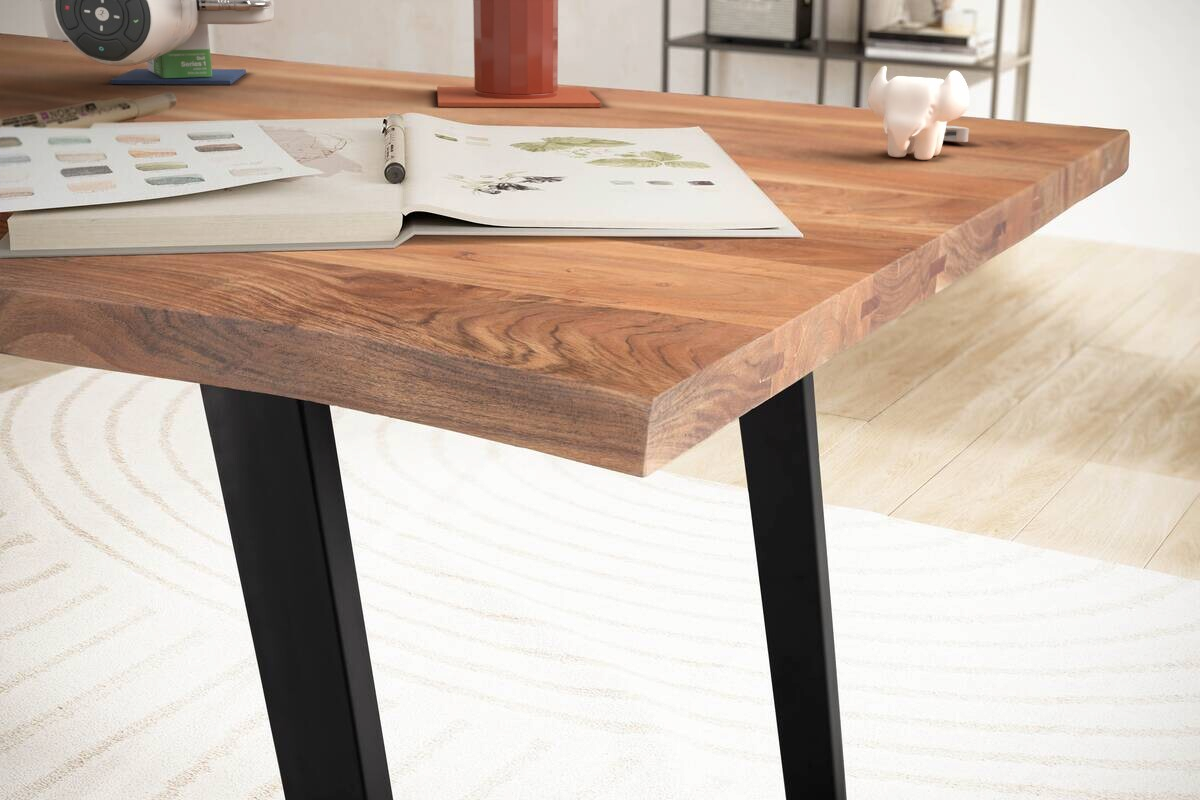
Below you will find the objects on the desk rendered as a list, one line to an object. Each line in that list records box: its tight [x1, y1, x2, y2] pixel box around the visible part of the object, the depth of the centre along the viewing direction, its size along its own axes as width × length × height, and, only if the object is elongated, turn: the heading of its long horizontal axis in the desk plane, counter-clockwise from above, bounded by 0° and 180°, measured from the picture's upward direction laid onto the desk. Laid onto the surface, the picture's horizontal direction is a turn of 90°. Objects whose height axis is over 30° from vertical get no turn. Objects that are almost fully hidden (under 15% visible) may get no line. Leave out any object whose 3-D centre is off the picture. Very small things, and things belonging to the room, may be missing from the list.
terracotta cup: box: [472, 0, 559, 99], centre depth 114 cm, size 7×7×9 cm
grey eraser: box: [943, 125, 970, 143], centre depth 95 cm, size 6×2×1 cm, turn 24°
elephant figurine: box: [867, 65, 970, 161], centre depth 86 cm, size 7×8×6 cm
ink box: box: [146, 24, 213, 78], centre depth 124 cm, size 8×5×12 cm, turn 28°
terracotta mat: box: [436, 86, 602, 108], centre depth 115 cm, size 14×12×1 cm
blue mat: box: [110, 68, 247, 86], centre depth 126 cm, size 11×11×1 cm
